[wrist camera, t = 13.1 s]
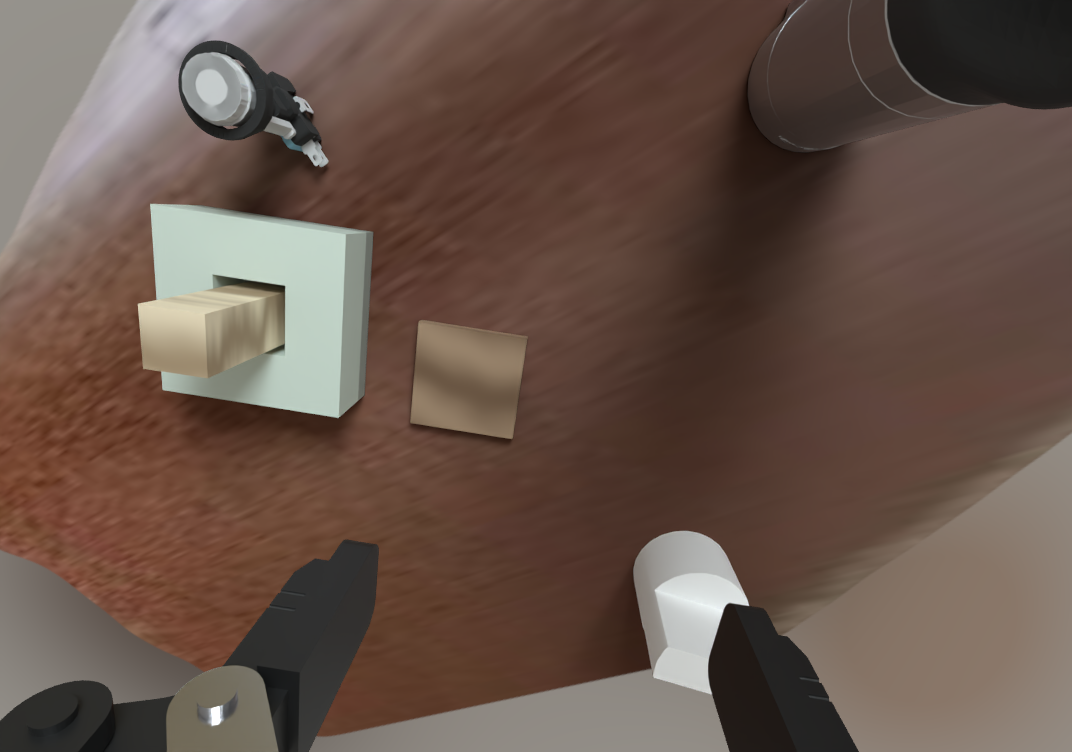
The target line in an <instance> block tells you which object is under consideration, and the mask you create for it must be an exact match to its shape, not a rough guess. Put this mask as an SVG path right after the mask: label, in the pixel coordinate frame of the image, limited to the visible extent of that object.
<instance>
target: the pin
mask: <svg viewBox="0 0 1072 752" xmlns="http://www.w3.org/2000/svg"><path fill="white" fill-rule="evenodd" d="M138 311H139V323H140V335H141V347H142V359H143V369H149V370H156V371H162V372H169V373H176V374H182V375H189V376H195V377H202V378H210V377H212V376H214V375H216V374H219V373H221V372H223V371H225V370H227V369H230V368H232V367H234V366H236V365H238V364H241V363H243V362H245V361H247V360H250V359H252V358H254V357H256V356H258V355H261V354H263V353H265V352H267V351H269V350H272V349H274V348H276V347H278V346H281V345H283V344H285V286H283V285H277V284H271V283H264V282H258V281H248V282H243V283H238V284H233V285H228V286H223V287H218V288H214V289H209V290H204V291H199V292H194V293H189V294H184V295H179V296H174V297H169V298H165V299H160V300H155V301H150V302H145V303H140V304H138Z"/></svg>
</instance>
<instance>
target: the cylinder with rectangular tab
mask: <svg viewBox="0 0 1072 752" xmlns="http://www.w3.org/2000/svg"><path fill="white" fill-rule="evenodd" d="M633 575H634V584H635V589H636V594H637V600H638V605H639V610H640V616H641V621H642V626H643V629H644V631H645V636H646V641H647V647H648V652H649V657H650V663H651V668H652V673H653V677H654V678H657V679H660V680H664V681H667V682H671V683H674V684H677V685H681V686H684V687H688V688H691V689H695V690H698V691H701V692H705V693H708V694H712V692H711V689H710V685H709V679H708V661H709V656H710V652H711V649H712V646H713V642H714V639H715V636H716V633H717V629H718V626H719V623H720V620H721V617H722V613H723V610H724V608H725V606H726V605H727V604H728V603H734V604H740V605H746V606H749V604H748V601H747V598H746V596H745V594H744V592H743V589H742V587H741V585H740V583H739V581H738V579H737V577H736V575H735V573H734V570H733V568H732V566H731V564H730V562H729V560H728V558H727V556H726V554H725V552H724V551H723V550H722V548H721V547H720V545H718V544H717V543H716V542H715V541H713V540H712V539H711V538H709V537H707V536H705V535H702V534H700V533H696V532H690V531H674V532H670V533H667V534H663V535H660V536H659V537H657V538H655V539H653V540H651V541H650V542H649V543H648V544H647V545H646V546H645V547H644V548H643V549H642V550H641V551H640V553H639V555H638V556H637V558H636V560H635V564H634V568H633Z"/></svg>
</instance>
